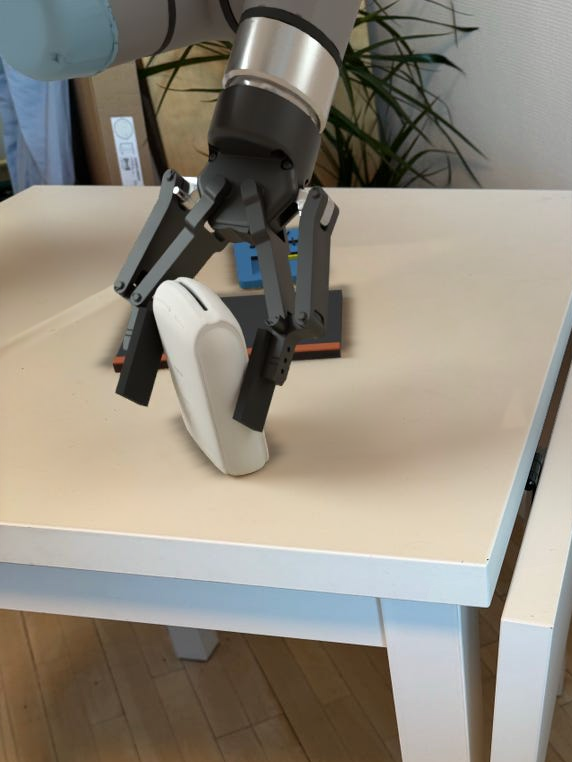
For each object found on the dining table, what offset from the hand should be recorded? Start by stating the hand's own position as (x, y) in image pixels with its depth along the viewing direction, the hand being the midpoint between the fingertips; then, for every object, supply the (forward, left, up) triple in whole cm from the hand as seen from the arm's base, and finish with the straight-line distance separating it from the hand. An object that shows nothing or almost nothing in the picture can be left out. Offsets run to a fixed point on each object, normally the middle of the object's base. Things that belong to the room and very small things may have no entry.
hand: (188, 412), depth 65 cm
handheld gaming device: (-19, +38, -4) cm, 43 cm away
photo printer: (0, +3, -5) cm, 6 cm away
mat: (-12, +21, -4) cm, 25 cm away
